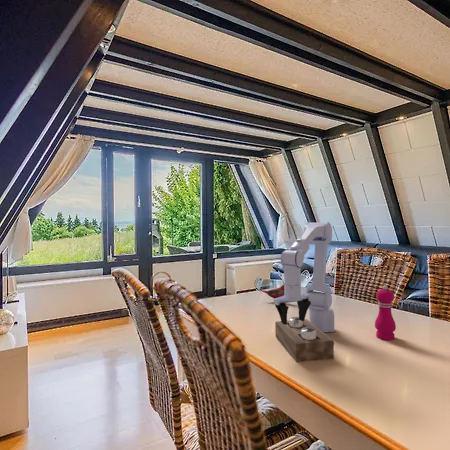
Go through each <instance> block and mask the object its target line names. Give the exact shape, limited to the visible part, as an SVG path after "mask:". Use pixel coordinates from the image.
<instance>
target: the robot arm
mask: <svg viewBox="0 0 450 450" xmlns="http://www.w3.org/2000/svg"><path fill="white" fill-rule="evenodd" d="M332 237H333V227H332V224H331V223H330V222H329V221H328V222H311V221H309V222H308V221H307V222H306V223H305V224H304V227H303V234H302V235H301V237H300V238H296V239H295V241H294V242H293V243H292V245H291V246H290V247H289V248H288V249H286V250H283V251H282V252H281V257H280V263H281V268H282V272H283V274H284V276H283V282H284V283H283V285H284V296H281V297H278V298H273V304H274V306H275V308H276V311H277V312H278V315H279V319H280V321H281V322H282V324H284V325H286V324H287V321H288V311H289V308H290V307H289V306H287V305H286V304H288V303H295V302H296V303H297V308H298V317H299V320H301V321H304V320H305V319H306V317H307V316H306V315H307V312H308V310H309V313H308V314H309V315H308V316H309V317H308V320H309V321H310V322H311V323H312V324H314V325H315V326H316V327H317V328H318V329H320V330H321V331H322V332H323V333H333V332H336V329H335V313H334V310H333V308H332V305H333V304H332V303H333V296H332V290H331V288H329V287H328V285H326V271H327V259H328V258H327V256H328V255H327V254H328V246H329V244H331V243H332V239H333V238H332ZM311 243H312V244H313V245H314V257H313V271H312V283H311V284H310V285H308V286H306V289H305V293H302V286H301V285H302V282H301V281H302V278H301V276H302V275H301V271H302V269H301V268H302V266H303V265H304V262H305V261H304V260H305V256H306V254H307V253H308V251H309V250H310V244H311Z"/></svg>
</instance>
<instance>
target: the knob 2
mask: <svg viewBox="0 0 450 450" xmlns="http://www.w3.org/2000/svg"><path fill="white" fill-rule="evenodd" d="M301 338H302V339H303V340H304V341H306V340H316V330H315V329H313V328H302V329H301Z"/></svg>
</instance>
